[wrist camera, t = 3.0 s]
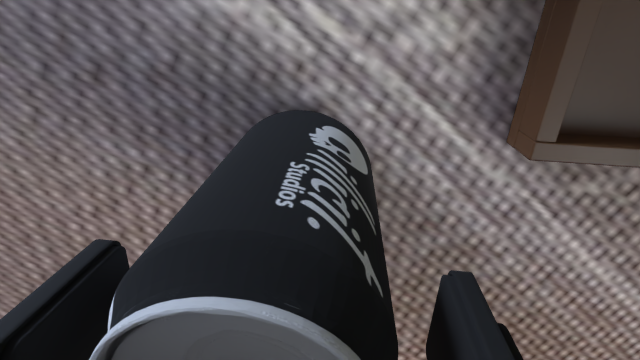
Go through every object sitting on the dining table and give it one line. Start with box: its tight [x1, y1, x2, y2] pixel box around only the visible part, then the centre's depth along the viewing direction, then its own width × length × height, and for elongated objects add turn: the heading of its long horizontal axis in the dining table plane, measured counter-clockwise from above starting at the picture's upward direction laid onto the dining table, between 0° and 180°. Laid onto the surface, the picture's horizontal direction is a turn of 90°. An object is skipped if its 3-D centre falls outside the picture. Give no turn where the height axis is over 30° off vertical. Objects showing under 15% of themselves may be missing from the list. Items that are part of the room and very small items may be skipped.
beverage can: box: [89, 110, 398, 360], centre depth 12 cm, size 7×7×12 cm
